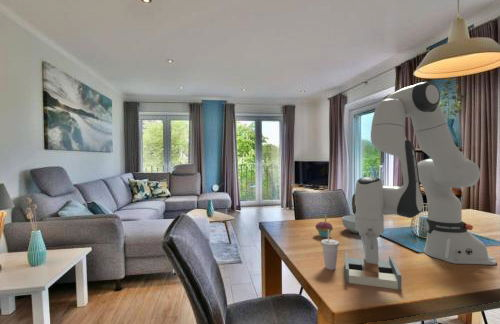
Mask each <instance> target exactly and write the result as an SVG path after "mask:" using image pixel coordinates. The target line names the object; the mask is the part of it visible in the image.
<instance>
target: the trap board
mask: <svg viewBox="0 0 500 324" xmlns="http://www.w3.org/2000/svg"><path fill="white" fill-rule="evenodd" d="M344 254H345V256H344V257H345V258H344V259H345V260H344V261H345V264H344V265H345V283H346V284H353V285H354V284H355V285H361V286H369V287H375V288H376V287H379V288H382V289H383V288H386V289H393V290H399V291H400V290H402V274H401V271H400V270H399V268H398V265H397V263H396V261H395V259H394V256H393V255H389V256H388V260H379V261H378V266H379V278H378V277H369V276H365V274H364V259H365V258H362V257H361V258H360V257H359V258H358V257H350V256H349V251H345V253H344Z"/></svg>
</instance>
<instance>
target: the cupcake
mask: <svg viewBox="0 0 500 324" xmlns="http://www.w3.org/2000/svg"><path fill="white" fill-rule="evenodd" d="M327 218H328V217H327V214H325V216H324V221H320V222H317V223H316V225H315V230H317V232H318V234H319V236H320V237H321V238H328V230H329V237H330V236H331V232H332V231H333V229H334V227H333V225H332V223H329V222H327Z"/></svg>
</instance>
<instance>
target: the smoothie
mask: <svg viewBox="0 0 500 324" xmlns="http://www.w3.org/2000/svg"><path fill="white" fill-rule="evenodd" d="M320 243H321V246H322V253H323V260H324V267H325V269H327V270H329V271H331V270H336V269H337V262H338V260H337V258H338V251H339V246H340V242H339V240H337V239H333V238H330V236H329V230H328V237H327V238H326V239H325V238H324V239H321V242H320Z"/></svg>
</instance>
